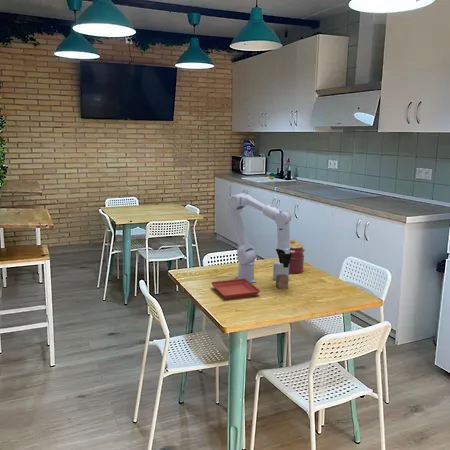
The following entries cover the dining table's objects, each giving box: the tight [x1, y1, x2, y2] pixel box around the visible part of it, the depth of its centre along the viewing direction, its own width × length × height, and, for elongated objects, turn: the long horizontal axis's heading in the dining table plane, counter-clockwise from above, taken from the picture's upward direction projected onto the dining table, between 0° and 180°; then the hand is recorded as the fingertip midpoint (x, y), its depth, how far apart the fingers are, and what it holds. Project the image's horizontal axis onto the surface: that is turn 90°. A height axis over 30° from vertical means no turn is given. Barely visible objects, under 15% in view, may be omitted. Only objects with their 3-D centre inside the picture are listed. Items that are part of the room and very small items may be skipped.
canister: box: [289, 238, 305, 274], centre depth 244 cm, size 13×13×18 cm
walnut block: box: [275, 274, 289, 290], centre depth 218 cm, size 4×4×6 cm
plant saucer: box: [211, 278, 261, 300], centre depth 211 cm, size 18×18×3 cm
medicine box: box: [272, 261, 290, 281], centre depth 230 cm, size 8×4×9 cm, turn 84°
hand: (284, 265), depth 215 cm, fingers open, 7 cm apart
